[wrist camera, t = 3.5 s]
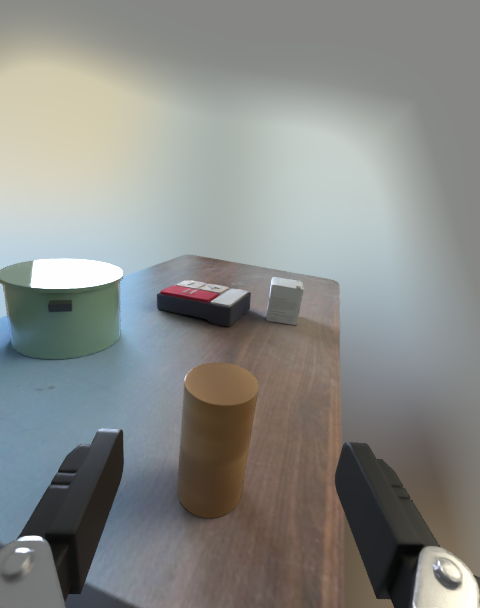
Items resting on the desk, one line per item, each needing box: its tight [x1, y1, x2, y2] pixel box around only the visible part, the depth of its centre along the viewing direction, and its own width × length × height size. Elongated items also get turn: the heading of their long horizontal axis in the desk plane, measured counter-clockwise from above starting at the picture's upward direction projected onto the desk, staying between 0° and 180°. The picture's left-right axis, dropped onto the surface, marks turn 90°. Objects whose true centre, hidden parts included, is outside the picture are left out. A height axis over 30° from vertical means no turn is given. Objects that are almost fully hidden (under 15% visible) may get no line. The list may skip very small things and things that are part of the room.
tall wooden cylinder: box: [177, 363, 258, 518], centre depth 24 cm, size 5×5×10 cm
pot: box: [0, 259, 123, 359], centre depth 45 cm, size 15×17×10 cm
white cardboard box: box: [266, 277, 304, 325], centre depth 62 cm, size 6×6×7 cm
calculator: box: [157, 280, 251, 327], centre depth 62 cm, size 11×4×15 cm
